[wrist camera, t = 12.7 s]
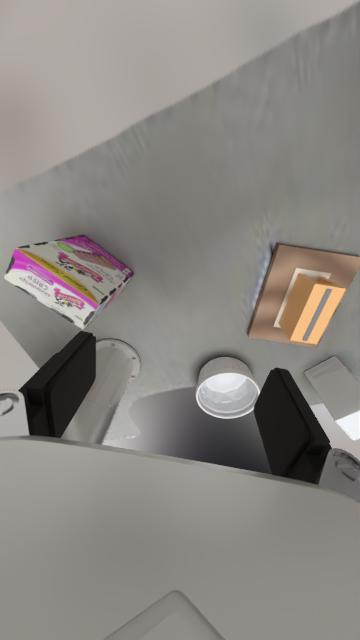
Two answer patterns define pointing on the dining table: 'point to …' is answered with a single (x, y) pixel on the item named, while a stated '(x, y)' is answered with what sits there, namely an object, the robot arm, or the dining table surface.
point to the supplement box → (338, 394)
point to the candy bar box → (69, 277)
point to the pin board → (282, 279)
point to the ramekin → (226, 388)
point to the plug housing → (310, 308)
